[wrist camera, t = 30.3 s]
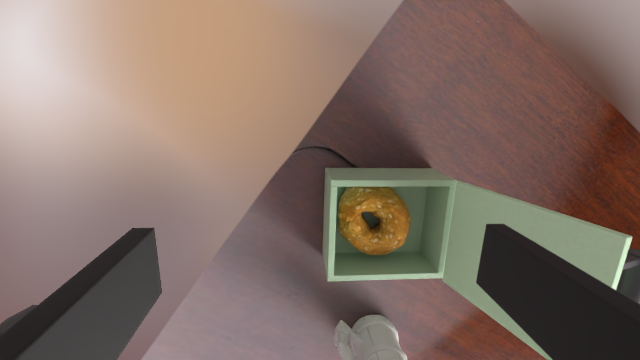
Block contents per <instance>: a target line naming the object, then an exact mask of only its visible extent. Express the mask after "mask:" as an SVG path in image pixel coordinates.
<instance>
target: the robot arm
mask: <svg viewBox="0 0 640 360" xmlns="http://www.w3.org/2000/svg"><path fill="white" fill-rule="evenodd" d="M476 283H477V284H478V285H479V286H480V287H481V288H482V289H483V290H484V291H485V292H486V293H487V294H488V295H489V296H490V297H491V298H492V299H493V300H494V301H495V302H496V303H497V304H498V305H499V306H500V307H501V308H502V309H503V310H504V311H505V312H506V313H507V314H508V315H509V316H510V317H511V318H512V319H513V320H514V321H515V322H516V323H517V324H518V325H519V326H520V327H521V328H522V329H523V330H524V331H525V332H526V333H527V334H528V336H529V337H530V338H531V339H532V340H533V341H534V342H535V343H536V344H537V345H538V346H539V347H540V348H541V349H542V350H543V351H544V352H545V353H546V354H547V355H548V356H549V357H550V358H551V359H552V360H640V304H639V303H637V302H635V301H634V300H632V299H630V298H629V297H627V296H625V295H623V294H621V293H620V292H618V291H616V290H615V289H613V288H611V287H610V286H608V285H606V284H605V283H603V282H601V281H599V280H598V279H596V278H594V277H593V276H591V275H589V274H588V273H586V272H584V271H583V270H581V269H579V268H578V267H576V266H574V265H572V264H571V263H569V262H567V261H566V260H564V259H562V258H561V257H559V256H557V255H556V254H554V253H552V252H551V251H549V250H547V249H546V248H544V247H542V246H540V245H539V244H537V243H535V242H534V241H532V240H530V239H529V238H527V237H525V236H524V235H522V234H520V233H519V232H517V231H515V230H513V229H512V228H510V227H508V226H507V225H505V224H486V228H485V234H484V240H483V245H482V251H481V257H480V262H479V268H478V274H477V279H476ZM161 293H162V288H161V280H160V272H159V264H158V256H157V247H156V239H155V231H154V228H132V229H131V230H130V231H129V232H127V233H126V234H125V235H124V236H122V237H121V238H120V239H119V240H118V241H116V242H115V243H114V244H113V245H111V246H110V247H109V248H108V249H106V250H105V251H104V252H103V253H102V254H100V255H99V256H98V257H97V258H95V259H94V260H93V261H92V262H91V263H89V264H88V265H87V266H86V267H84V268H83V269H82V270H81V271H79V272H78V273H77V274H76V275H75V276H73V277H72V278H71V279H70V280H68V281H67V282H66V283H65V284H64V285H62V286H61V287H60V288H59V289H57V290H56V291H55V292H54V293H52V294H51V295H50V296H49V297H48V298H46V299H45V300H44V301H43V302H41V303H40V304H39V305H32V306H30V307H29V308H27V309H25V310H23V311H21V312H19V313H17V314H15V315H13V316H12V317H10V318H8V319H6V320H5V321H4V322H2V323H1V324H0V360H117V359H118V357H119V356H120V354H121V352H122V351H123V350H124V348H125V347H126V345H127V344H128V342H129V341H130V339H131V338H132V336H133V335H134V333H135V332H136V330H137V329H138V327H139V325H140V324H141V323H142V321H143V320H144V318H145V317H146V315H147V314H148V312H149V311H150V309H151V308H152V306H153V305H154V303H155V302H156V300H157V299H158V297H159V296H160V294H161Z"/></svg>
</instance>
